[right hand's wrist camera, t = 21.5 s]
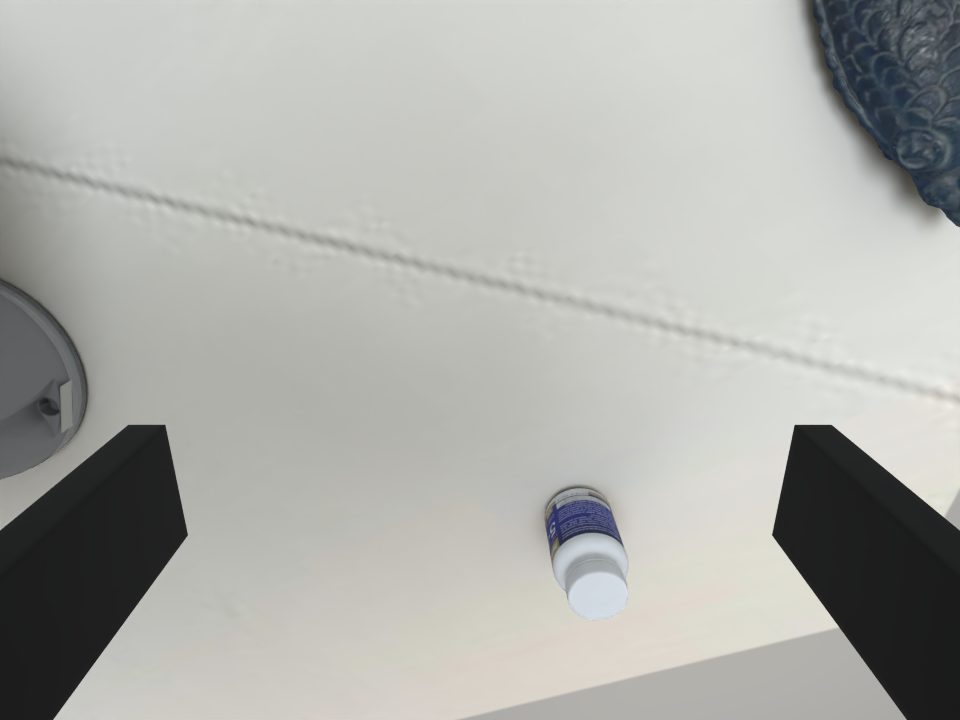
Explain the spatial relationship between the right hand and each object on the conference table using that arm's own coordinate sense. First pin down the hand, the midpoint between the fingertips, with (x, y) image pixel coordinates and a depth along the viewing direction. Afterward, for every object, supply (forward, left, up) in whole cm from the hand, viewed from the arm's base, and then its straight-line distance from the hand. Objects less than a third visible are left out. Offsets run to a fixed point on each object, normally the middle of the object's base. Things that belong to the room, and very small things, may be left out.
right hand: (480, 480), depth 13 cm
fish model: (+27, -3, -29) cm, 39 cm away
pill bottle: (-4, -22, -29) cm, 37 cm away
